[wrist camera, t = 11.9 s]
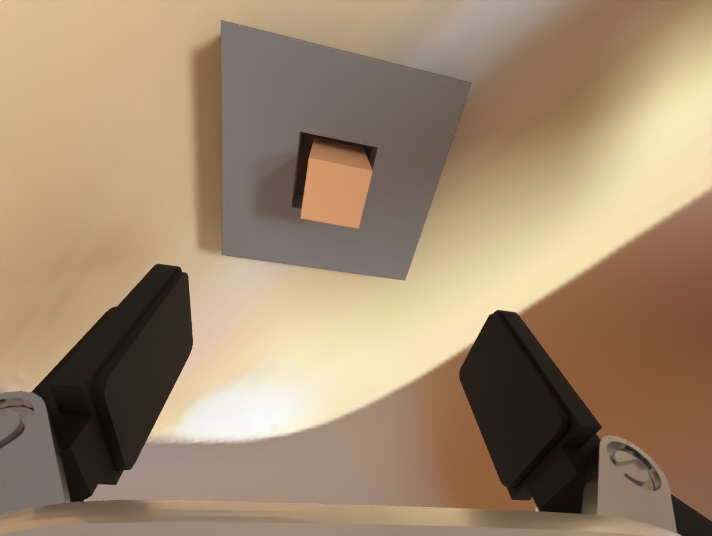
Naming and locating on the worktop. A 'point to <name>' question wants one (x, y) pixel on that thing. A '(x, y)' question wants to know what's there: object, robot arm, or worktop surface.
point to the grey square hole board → (334, 120)
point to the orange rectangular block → (336, 183)
